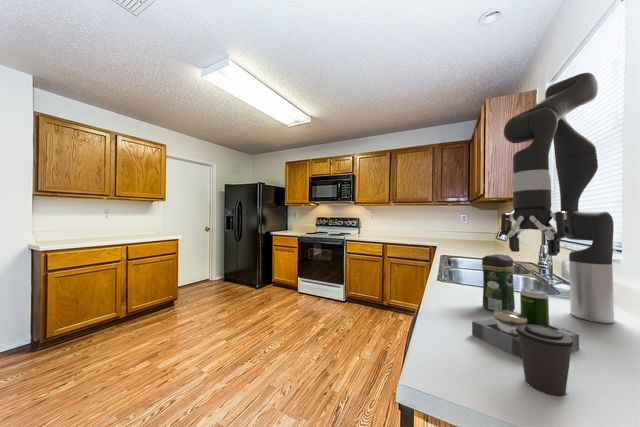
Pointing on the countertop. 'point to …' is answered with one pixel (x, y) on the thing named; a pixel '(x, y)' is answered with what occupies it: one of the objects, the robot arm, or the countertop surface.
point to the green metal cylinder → (535, 307)
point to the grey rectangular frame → (508, 336)
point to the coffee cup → (545, 358)
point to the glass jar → (509, 321)
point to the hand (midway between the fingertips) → (532, 253)
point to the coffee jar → (498, 283)
